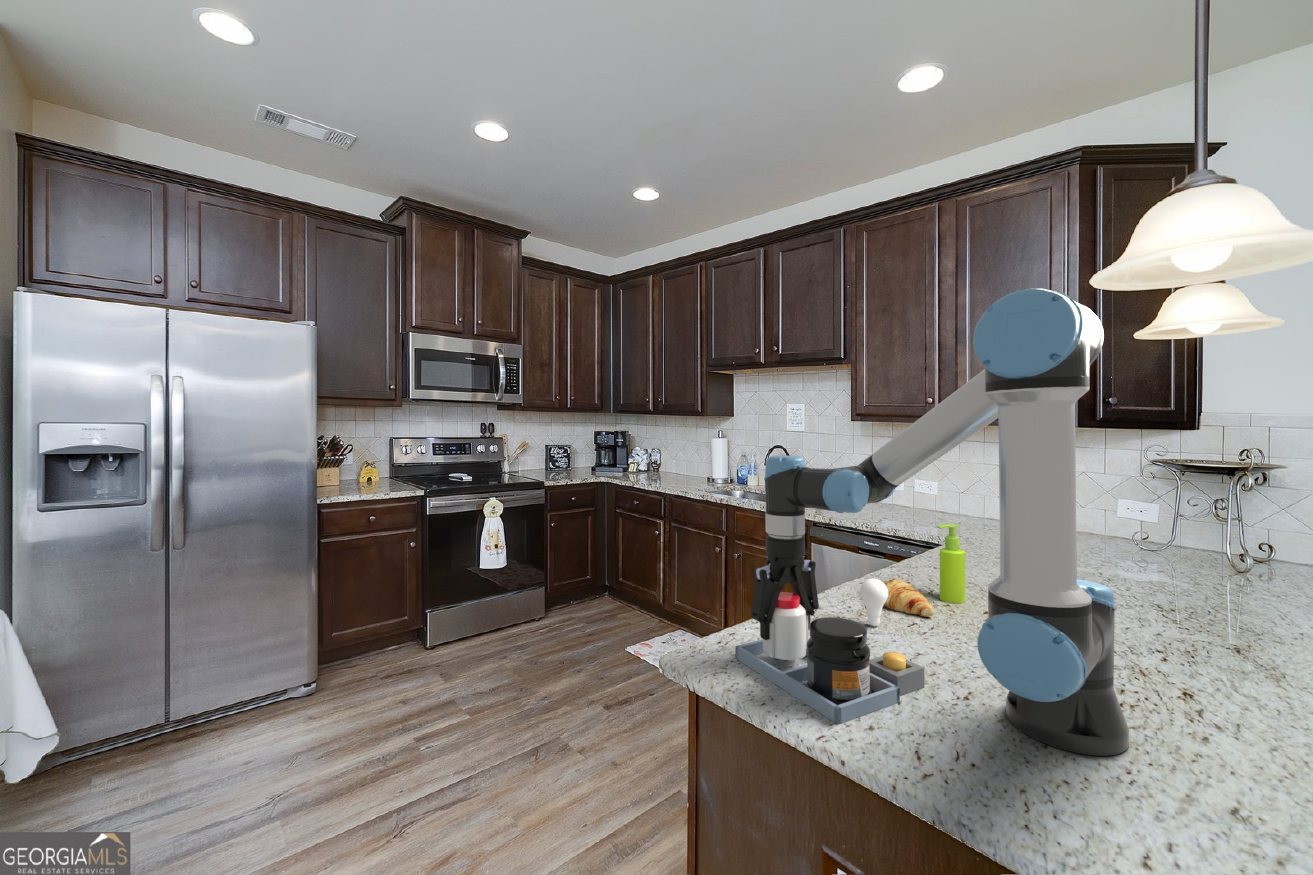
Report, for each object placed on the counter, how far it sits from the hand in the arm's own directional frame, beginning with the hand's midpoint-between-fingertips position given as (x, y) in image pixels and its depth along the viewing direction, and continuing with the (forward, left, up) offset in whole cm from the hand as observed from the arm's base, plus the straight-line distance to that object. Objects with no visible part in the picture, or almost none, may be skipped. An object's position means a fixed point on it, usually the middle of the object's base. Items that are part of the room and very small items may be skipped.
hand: (785, 650), depth 107 cm
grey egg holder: (-16, -12, -3) cm, 20 cm away
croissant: (+12, -47, -3) cm, 49 cm away
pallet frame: (-7, 0, -3) cm, 7 cm away
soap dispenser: (+8, -63, -3) cm, 63 cm away
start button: (-16, -12, -1) cm, 20 cm away
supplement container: (-14, 0, -3) cm, 14 cm away
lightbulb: (+5, -31, -3) cm, 31 cm away
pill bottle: (0, 0, 0) cm, 0 cm away
